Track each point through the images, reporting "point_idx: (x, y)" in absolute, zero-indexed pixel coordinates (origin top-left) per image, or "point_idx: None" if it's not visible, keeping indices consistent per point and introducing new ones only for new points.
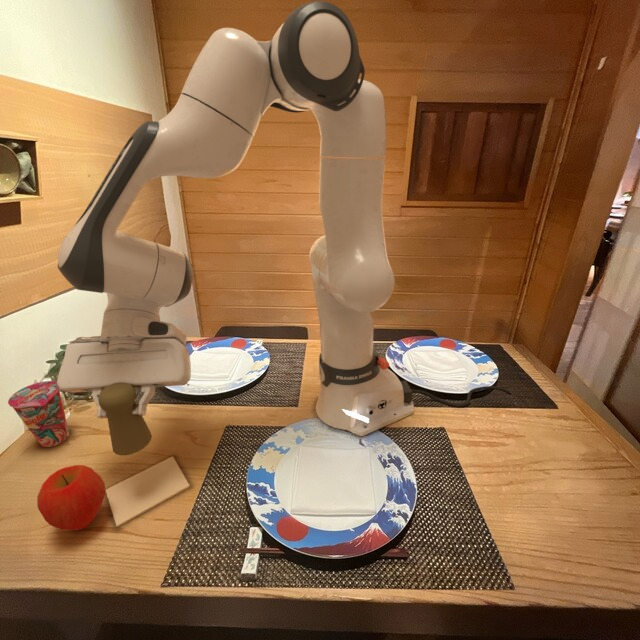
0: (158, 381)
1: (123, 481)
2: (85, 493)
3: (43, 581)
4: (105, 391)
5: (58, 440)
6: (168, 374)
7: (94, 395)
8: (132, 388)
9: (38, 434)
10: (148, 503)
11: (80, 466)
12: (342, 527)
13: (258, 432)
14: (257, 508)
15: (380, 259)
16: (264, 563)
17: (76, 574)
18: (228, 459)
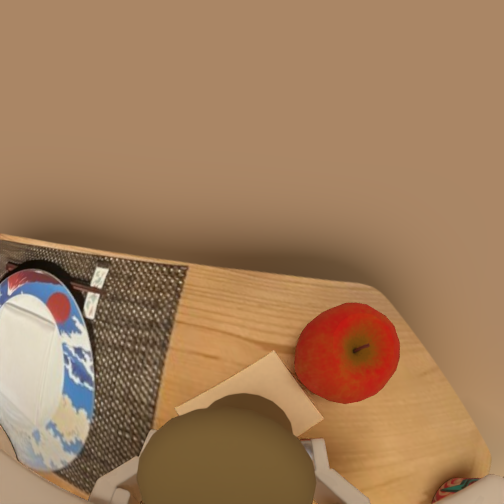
0: (40, 480)
1: (298, 433)
2: (310, 330)
3: (335, 285)
4: (265, 484)
5: (441, 490)
6: (2, 478)
7: (357, 501)
8: (142, 498)
9: (470, 479)
10: (235, 385)
11: (349, 381)
12: (26, 296)
13: (86, 480)
14: (84, 342)
15: None
16: (87, 274)
17: (299, 290)
18: (122, 445)
